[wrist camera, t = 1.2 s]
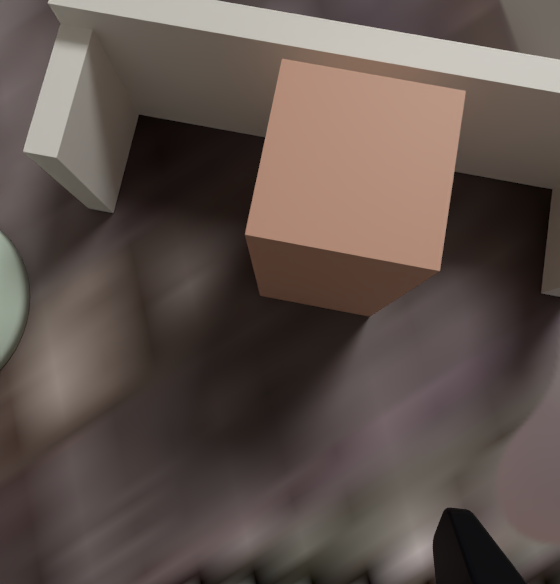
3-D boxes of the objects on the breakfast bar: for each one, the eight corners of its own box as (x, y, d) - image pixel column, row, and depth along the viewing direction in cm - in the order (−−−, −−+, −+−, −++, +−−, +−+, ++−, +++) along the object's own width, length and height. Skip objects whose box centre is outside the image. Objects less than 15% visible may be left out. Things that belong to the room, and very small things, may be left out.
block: (369, 316, 22) (440, 271, 13) (260, 295, 23) (244, 234, 13) (386, 211, 23) (466, 90, 13) (281, 191, 23) (282, 58, 14)
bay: (567, 298, 23) (694, 264, 16) (88, 208, 23) (7, 138, 16) (580, 169, 24) (705, 84, 17) (120, 87, 24) (57, -28, 17)
